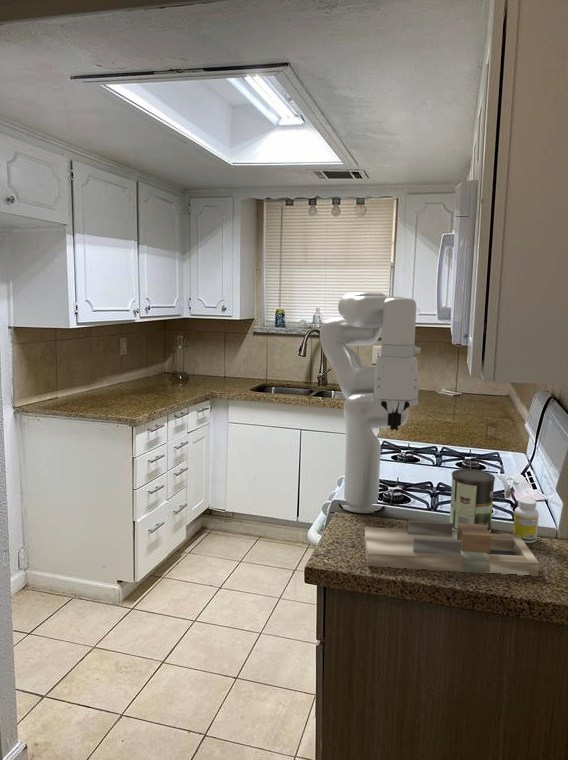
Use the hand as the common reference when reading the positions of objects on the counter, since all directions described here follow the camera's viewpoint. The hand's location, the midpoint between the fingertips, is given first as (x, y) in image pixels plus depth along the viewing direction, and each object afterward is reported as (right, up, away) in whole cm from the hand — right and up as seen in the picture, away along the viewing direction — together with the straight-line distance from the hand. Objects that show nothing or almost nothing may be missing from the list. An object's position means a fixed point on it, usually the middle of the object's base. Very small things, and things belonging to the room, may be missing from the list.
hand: (393, 428), depth 137 cm
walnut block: (+16, -26, -7) cm, 31 cm away
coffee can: (+21, -26, +10) cm, 35 cm away
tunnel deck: (+11, -29, -6) cm, 31 cm away
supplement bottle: (+33, -28, +4) cm, 43 cm away
